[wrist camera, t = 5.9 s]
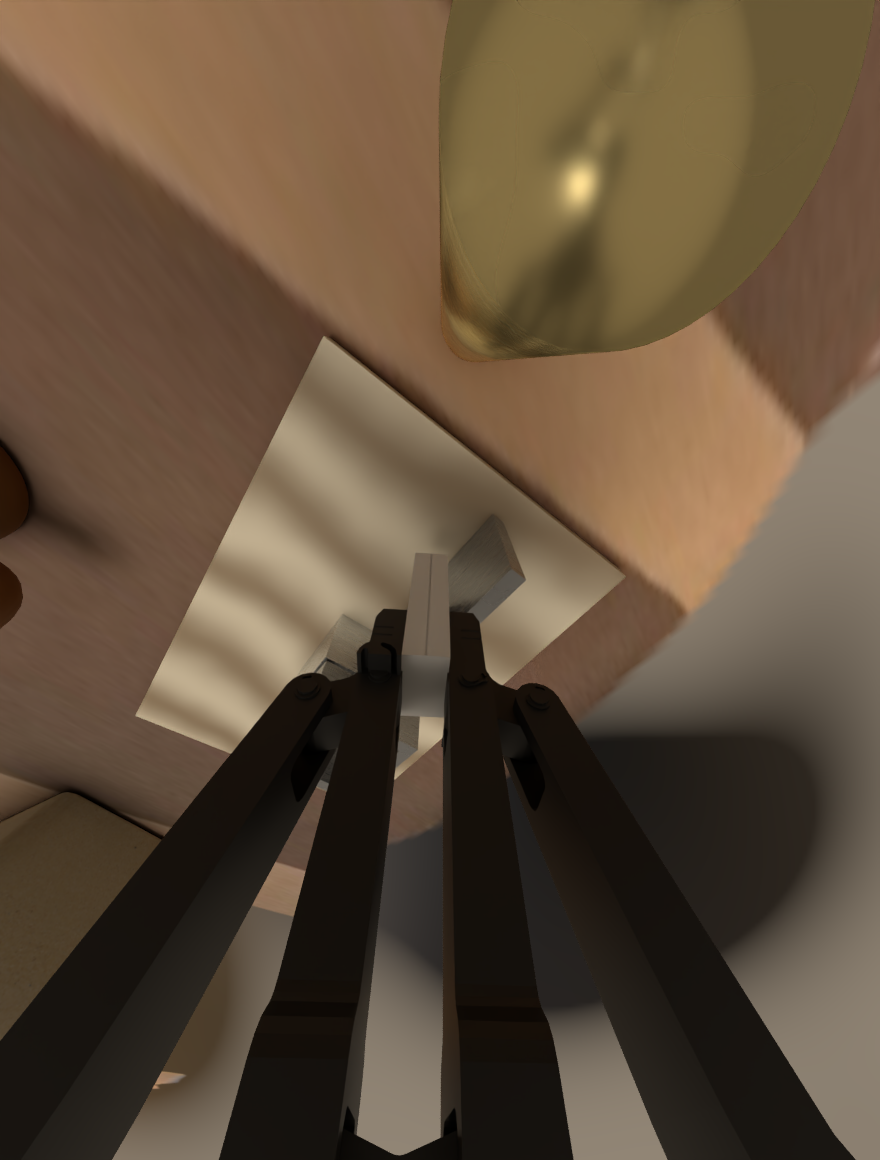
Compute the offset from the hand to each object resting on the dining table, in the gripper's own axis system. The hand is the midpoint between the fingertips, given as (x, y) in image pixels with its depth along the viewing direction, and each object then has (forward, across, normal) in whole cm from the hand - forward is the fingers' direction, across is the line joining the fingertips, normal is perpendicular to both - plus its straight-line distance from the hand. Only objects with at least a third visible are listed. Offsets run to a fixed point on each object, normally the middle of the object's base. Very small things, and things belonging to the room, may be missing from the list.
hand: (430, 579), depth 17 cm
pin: (+6, +1, +10) cm, 12 cm away
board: (+5, -5, -9) cm, 11 cm away
